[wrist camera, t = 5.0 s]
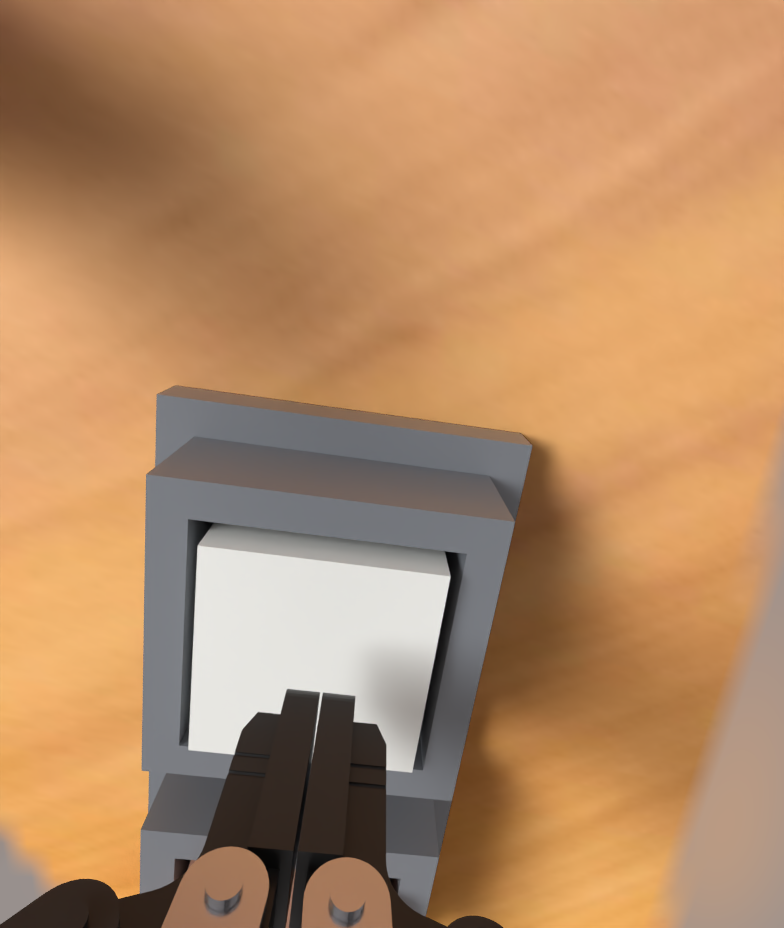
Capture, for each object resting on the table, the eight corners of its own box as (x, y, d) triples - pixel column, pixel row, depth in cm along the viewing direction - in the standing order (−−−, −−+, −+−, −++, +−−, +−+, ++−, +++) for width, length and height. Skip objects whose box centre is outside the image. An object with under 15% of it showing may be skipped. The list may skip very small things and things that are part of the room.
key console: (175, 385, 17) (97, 422, 13) (520, 433, 18) (570, 485, 13) (159, 894, 24) (104, 1045, 19) (414, 916, 25) (422, 1067, 20)
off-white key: (230, 499, 16) (197, 545, 13) (438, 525, 16) (450, 576, 13) (219, 675, 18) (188, 749, 15) (407, 695, 18) (411, 772, 15)
